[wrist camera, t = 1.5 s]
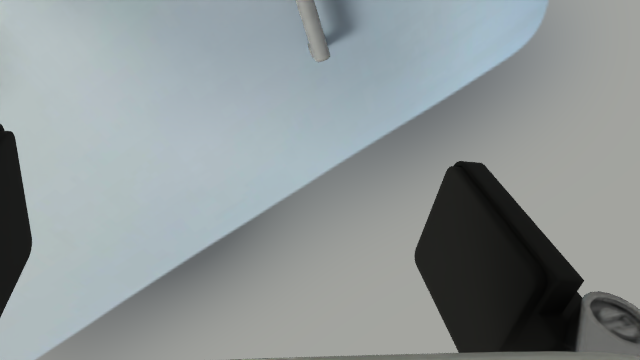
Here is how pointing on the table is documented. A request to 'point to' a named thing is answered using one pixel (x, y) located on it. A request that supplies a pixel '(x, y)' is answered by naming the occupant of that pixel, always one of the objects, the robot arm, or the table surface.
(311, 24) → the screwdriver
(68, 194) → the table surface
